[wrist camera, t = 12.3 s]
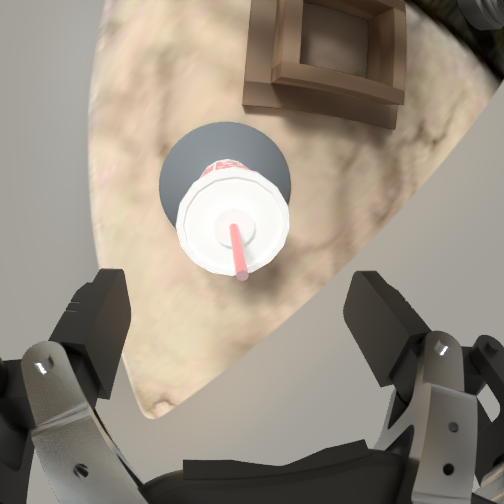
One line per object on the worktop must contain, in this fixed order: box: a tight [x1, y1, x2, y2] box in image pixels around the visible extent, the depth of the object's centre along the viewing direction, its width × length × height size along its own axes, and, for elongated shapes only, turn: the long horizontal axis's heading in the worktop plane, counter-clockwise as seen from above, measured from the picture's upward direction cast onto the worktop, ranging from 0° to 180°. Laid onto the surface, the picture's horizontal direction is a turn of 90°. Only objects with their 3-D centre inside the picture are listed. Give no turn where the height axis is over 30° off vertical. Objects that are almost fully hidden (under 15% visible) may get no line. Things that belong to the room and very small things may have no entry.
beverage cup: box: [176, 159, 290, 281], centre depth 17 cm, size 6×6×14 cm
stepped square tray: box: [242, 0, 406, 130], centre depth 17 cm, size 14×14×4 cm
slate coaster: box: [159, 122, 290, 228], centre depth 23 cm, size 11×11×1 cm
